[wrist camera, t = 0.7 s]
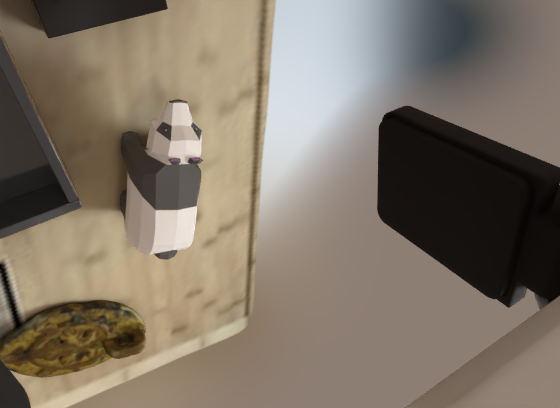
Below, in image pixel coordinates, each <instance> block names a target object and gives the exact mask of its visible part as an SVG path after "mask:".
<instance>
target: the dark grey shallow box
mask: <svg viewBox="0 0 560 408" xmlns="http://www.w3.org/2000/svg"><path fill="white" fill-rule="evenodd" d="M81 207H82V204H81V201H80V199H79V196H78V194H77V191H76V189H75V186H74V184H73V181H72V179H71V177H70V175H69V173H68V171H67V169H66V167H65V165H64V163H63V160H62V158H61V156H60V154H59V152H58V150H57V148H56V146H55V144H54V142H53V140H52V138H51V135H50V133H49V131H48V129H47V127H46V125H45V123H44V121H43V119H42V117H41V115H40V113H39V111H38V108H37V106H36V104H35V102H34V100H33V98H32V96H31V94H30V92H29V90H28V88H27V86H26V83H25V81H24V79H23V77H22V75H21V73H20V71H19V69H18V67H17V65H16V63H15V61H14V59H13V56H12V54H11V52H10V50H9V48H8V46H7V44H6V42H5V40H4V38H3V36H2V34H1V31H0V239H1V238H4V237H6V236H9V235H11V234H14V233H17V232H19V231H22V230H24V229H27V228H29V227H32V226H35V225H37V224H40V223H42V222H45V221H48V220H50V219H53V218H55V217H58V216H60V215H63V214H66V213H68V212H71V211H73V210H76V209H78V208H81Z"/></svg>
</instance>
